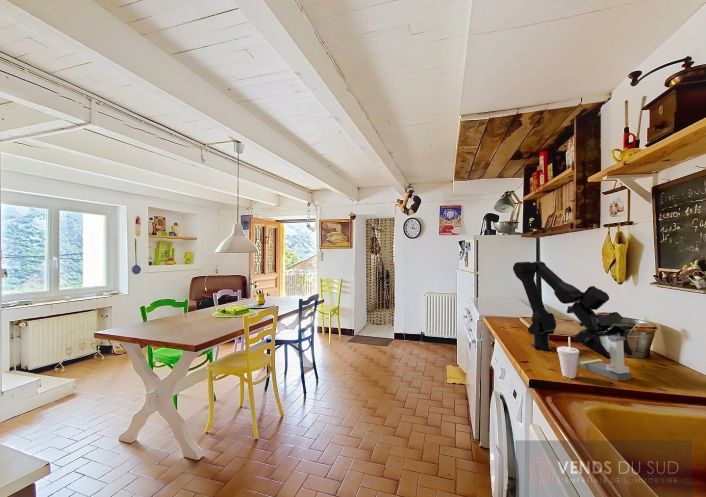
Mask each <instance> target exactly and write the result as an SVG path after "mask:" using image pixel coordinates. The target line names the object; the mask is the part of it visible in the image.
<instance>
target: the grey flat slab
mask: <svg viewBox="0 0 706 497" xmlns="http://www.w3.org/2000/svg"><path fill="white" fill-rule="evenodd" d="M607 364H608V363H606V362H604V360H603V359H600V358H598V359H593V358H591V357H590V358H589V357H588V358H583V359H582V358H581V359H578V362H577V367H580V366H581V367H580V368H583V367H584V368H583V369H585V368H586V370H587V371H590V370H591V371H590V372H594V373H595V372H596V374H598V375H600V374H601V375H600V376H603V377H605V376H607V377H610V378H612V379H615V380H623V379H628V380H631V379H632V373H631V372H630V371H629V372H627V373H621V374H618V373H615V372H613V371H610V370H607V369H606V365H607ZM607 377H606V378H607ZM610 378H609V379H610ZM630 378H631V379H630ZM612 379H611V380H612ZM615 380H614V381H615ZM623 381H624V380H623Z"/></svg>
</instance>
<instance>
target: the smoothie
mask: <svg viewBox="0 0 706 497" xmlns="http://www.w3.org/2000/svg"><path fill="white" fill-rule="evenodd" d="M567 340H568V346H562V345H561V346H557V347H556V352H557V354H558V359H559V364H560V370H561V375H563V376H566V377H569V378H575V377H577V369H578V365H577V362H578V360H579V355H580V350H579V349H577V348H575V347H571V336H568V339H567ZM563 376H562V377H563Z"/></svg>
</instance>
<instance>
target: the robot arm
mask: <svg viewBox="0 0 706 497" xmlns="http://www.w3.org/2000/svg"><path fill="white" fill-rule="evenodd" d="M512 271H513V274H514V275H515V276H516V278H517V279H518V280H519V281H521V283H522V286H523V289H524V291H525V294H526V297H527V299H528V302H529V305H530V308H531V311H532V315H531V323H532V324H531V325H530V326H529V327H527V331H528V334H530V335H533V343H531V344H530V346H532V347H533V349H534V350H539V351H553V348H552V347H551V346H550V335H554V333H555V330H556V328H557V321H556V319H555V315H554V313H553V312H549V311H548V310H546V308H545V305H544V302H543V300H542V297H541V295H540V292H539V288H538V287H537V284H536V282H535V277H536V274H537V275H538V276H539V277H540V278H541V279H542V280H543V281H544V282H545V283H546V284H547V285H548V286H549V287H551V289H552V290H553V291H554V293H553V294H554V296H555V297H556V299H557V300H558V301H559V302H560V303H561V304H564V305H565V304H566V305H568V304H572V305H569V306H567V310H566V314H573V315H574V316H575V317H576V318H577V319H578V320H579V322H580V323H579V326H580V327H584V328H585V329H582V330H580V331H579V332H578V333H577V334H575V335H574V341H575V342H576V343H577V345H582V346H583V347H586V348H588V349H590V350H591V351H593V352H595V353H597V354H599V355H600V356H602V357H603V358H605V359H607V360H611V354H610V353H609V352H608V351H607V349H606V348H605V347H604V345H603V344H602V342H601V340H600V339H601V338H602V337H607V338H608V336H612V335H619V336H623V337H625V340H623V346H624V354H626V355H628V357H631V356H633V355H634V354H633V352H632V350H631V346H630V344H629V342H628V335H630V331H631V329H630V328H629V327H628V326H627V325H626V324H622V321H623V316H622V315H621V314H620V313H619V312H617V311H613V312H609V314H607V315H602V314H596V312H595V311H597V310H599V309H600V308H601V307H603V305H605V304H606V303H607V302H608V301H610V296H609V294H608V293H607V292H605V291H603V289H600V288H597V287H596V286H595V285H592V286H588V287H587V289H586V290H585V291H584V292H583V291H581V290H580V289H579V288H577V287H576V286H574V285H572V284H570V283H567V282H565V281H564V280H563V279H562V278H560V276H558V274H556V273H555V272H554V271H553V270H552V269H550V268H549V267H548V266H547V264H546V263H545V262H544V261H540V260H539V261H532V262H531V261H519V262H515V263H514V264H513V266H512ZM613 325H614V326H613Z"/></svg>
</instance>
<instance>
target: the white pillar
mask: <svg viewBox="0 0 706 497" xmlns="http://www.w3.org/2000/svg"><path fill="white" fill-rule="evenodd" d="M607 339H608V340H609V348H610V350H609V351H610V353H609V354H610V357H611V359H610V363H606V364H607V365H606V369H607V370H610V371H613V372H615V373H618V374H621V373H627V372H630V367H629V366H626V365H625V355H624V354H625V352H624V346H623V340H625V337H623V336H619V335H612V336H608V337H607Z"/></svg>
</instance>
